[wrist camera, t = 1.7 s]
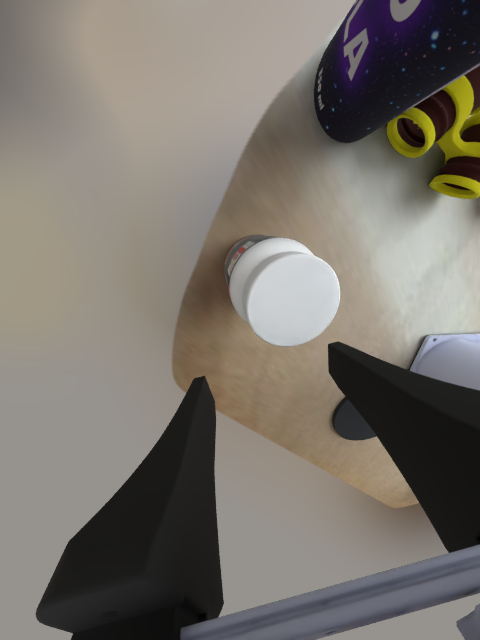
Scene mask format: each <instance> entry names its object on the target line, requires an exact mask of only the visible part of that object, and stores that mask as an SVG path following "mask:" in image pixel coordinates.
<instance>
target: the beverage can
mask: <svg viewBox="0 0 480 640" xmlns="http://www.w3.org/2000/svg"><path fill="white" fill-rule="evenodd" d="M478 66H480V0H356V2H355V3H354V5H353V6H352V8H351V10H350V11H349V13H348V14H347V16H346V18H345V19H344V21H343V23H342V24H341V26H340V27H339V29H338V31H337V32H336V34H335V35H334V37H333V39H332V40H331V42H330V44H329V45H328V47H327V49H326V50H325V52H324V54H323V56H322V58H321V61H320V64H319V67H318V70H317V74H316V79H315V86H314V103H315V110H316V114H317V117H318V120H319V122H320V125H321V126H322V128H323V130H324V131H325V132H326V133H327V134H328V135H329V136H330V137H331V138H332V139H334V140H336V141H339V142H343V143H351V142H355V141H358V140H360V139H362V138H364V137H365V136H367V135H369V134H370V133H372V132H373V131H375V130H377V129H378V128H380V127H381V126H383V125H385V124H386V123H388V122H389V121H391V120H393V119H394V118H396V117H398V116H399V115H401V114H402V113H404V112H406V111H407V110H409V109H410V108H412V107H414V106H415V105H417V104H418V103H420V102H422V101H423V100H425V99H427V98H428V97H430V96H431V95H433V94H435V93H436V92H438V91H439V90H441V89H443V88H444V87H446V86H447V85H449V84H451V83H452V82H454V81H455V80H457V79H459V78H460V77H462V76H464V75H465V74H467V73H468V72H470V71H472V70H473V69H475V68H476V67H478Z"/></svg>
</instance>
